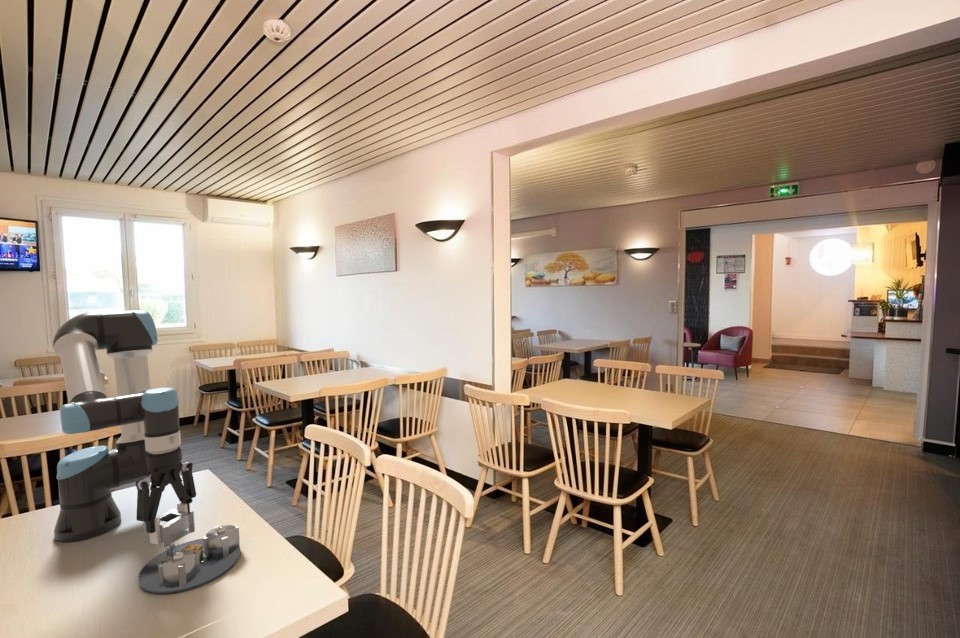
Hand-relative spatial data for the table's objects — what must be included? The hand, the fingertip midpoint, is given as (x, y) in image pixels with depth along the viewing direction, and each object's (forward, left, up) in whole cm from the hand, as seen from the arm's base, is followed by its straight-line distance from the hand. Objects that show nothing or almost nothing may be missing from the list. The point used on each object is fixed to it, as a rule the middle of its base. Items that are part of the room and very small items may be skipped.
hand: (170, 534), depth 119 cm
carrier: (+6, +3, -7) cm, 10 cm away
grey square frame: (0, 0, 0) cm, 0 cm away
